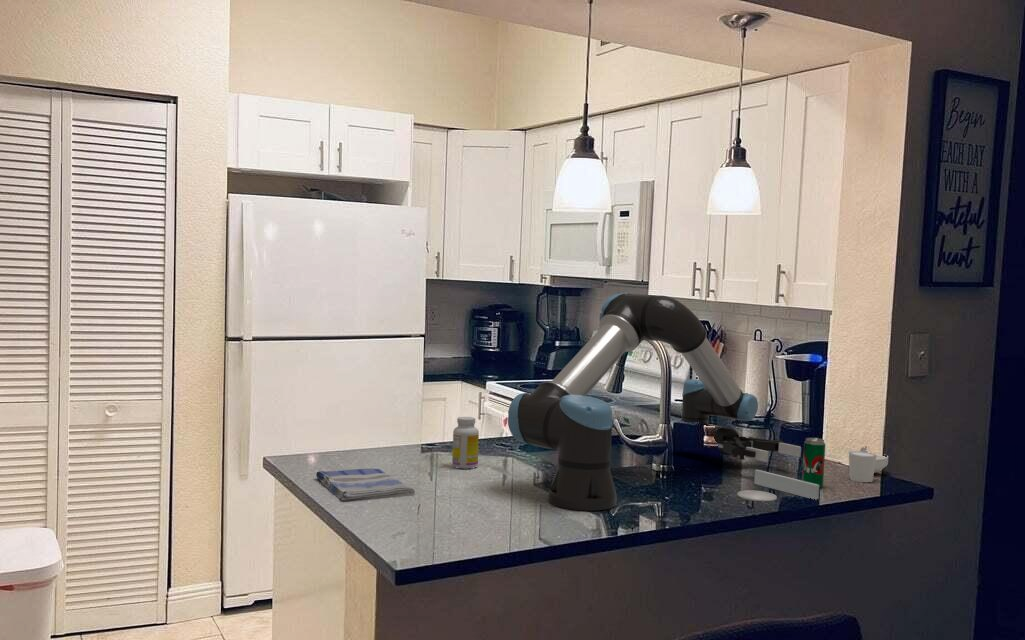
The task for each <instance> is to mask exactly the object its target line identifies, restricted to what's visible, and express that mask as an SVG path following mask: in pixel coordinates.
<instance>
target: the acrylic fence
mask: <svg viewBox="0 0 1025 640" xmlns="http://www.w3.org/2000/svg"><path fill="white" fill-rule="evenodd" d="M753 484H754V485H757V486H758V485H759V486H761V487H765V488H769V489H773V490H777V491H780V492H784V493H787V494H791V495H795V496H798V497H799V496H800V497H803V498H806V499H810V498H811V500H814V499H815V500H814V501H818V500H819V497H820V488H819V485H818V484H814V483H809V482H805V481H802V479H801V480H800V479H797V478H793V477H789V476H784V475H780V474H777V473H772V472H768V471H765V470H761V469H754V482H753ZM817 499H818V500H817Z"/></svg>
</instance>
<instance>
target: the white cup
mask: <svg viewBox="0 0 1025 640" xmlns="http://www.w3.org/2000/svg"><path fill="white" fill-rule="evenodd" d="M848 452H849V451H848ZM876 456H877V455H875V454H872V453H867V452H849V453H848V461H849V462H848V466H849V467H848V469H849V470H848V471H849V480H850V481H852V482H855V481H856V483H862V482H871V483H873V482H872V481H874V474H875V473H874V469H875V463H876Z"/></svg>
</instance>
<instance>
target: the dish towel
mask: <svg viewBox="0 0 1025 640" xmlns="http://www.w3.org/2000/svg"><path fill="white" fill-rule="evenodd" d="M315 476H316V478H317V479H318V480H319V481H320V482H321V483H322V484H323V485H322V486H325V487H326V488H327V489H328V490H329V491H330V492H331V494H333V495H334V496H336V497H337V498H338V499H339V500H341V501H343V502H356V501H357V502H358V501H366V500H367V501H368V500H376V499H389V498H398V497H410V496H414V495H415V494H416V491H415V488H414V487H412V486H410V485H406V484H405V483H403V482H402V481H400V480H398V479H396V478H395V477H394V476H392V475H390V474H387V473H386V472H384V471H383V470H382V469H380V468H357V469H355V468H353V469H344V470H332V471H331V470H329V471H323V470H320V471H317V472H316V475H315Z"/></svg>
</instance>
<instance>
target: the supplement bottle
mask: <svg viewBox="0 0 1025 640" xmlns="http://www.w3.org/2000/svg"><path fill="white" fill-rule="evenodd" d="M456 422H457V427H454V429H453V431H452V461H451V462H452V467H454V468H455V467H458V468H473V467H476V466H477V467H478V465H479V439H480V438H479V435H480V434H479V429H478V428H477V427H475V424H476V418H475V417H472V416H458V417H457V419H456ZM477 467H476V468H477ZM458 468H457V469H458ZM473 469H474V468H473Z"/></svg>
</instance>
